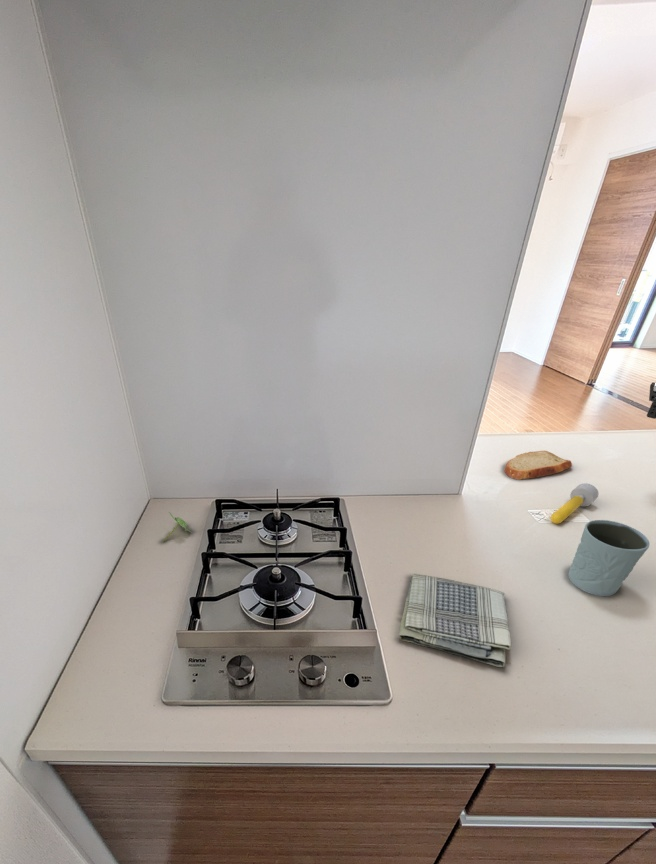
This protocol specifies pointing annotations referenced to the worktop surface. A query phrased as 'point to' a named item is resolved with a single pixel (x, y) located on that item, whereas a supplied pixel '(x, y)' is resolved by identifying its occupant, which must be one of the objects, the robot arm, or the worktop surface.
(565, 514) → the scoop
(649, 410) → the robot arm
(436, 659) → the worktop surface
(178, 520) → the green hummingbird figurine
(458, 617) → the dish towel
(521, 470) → the bread slice
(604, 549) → the blue-green plant pot
